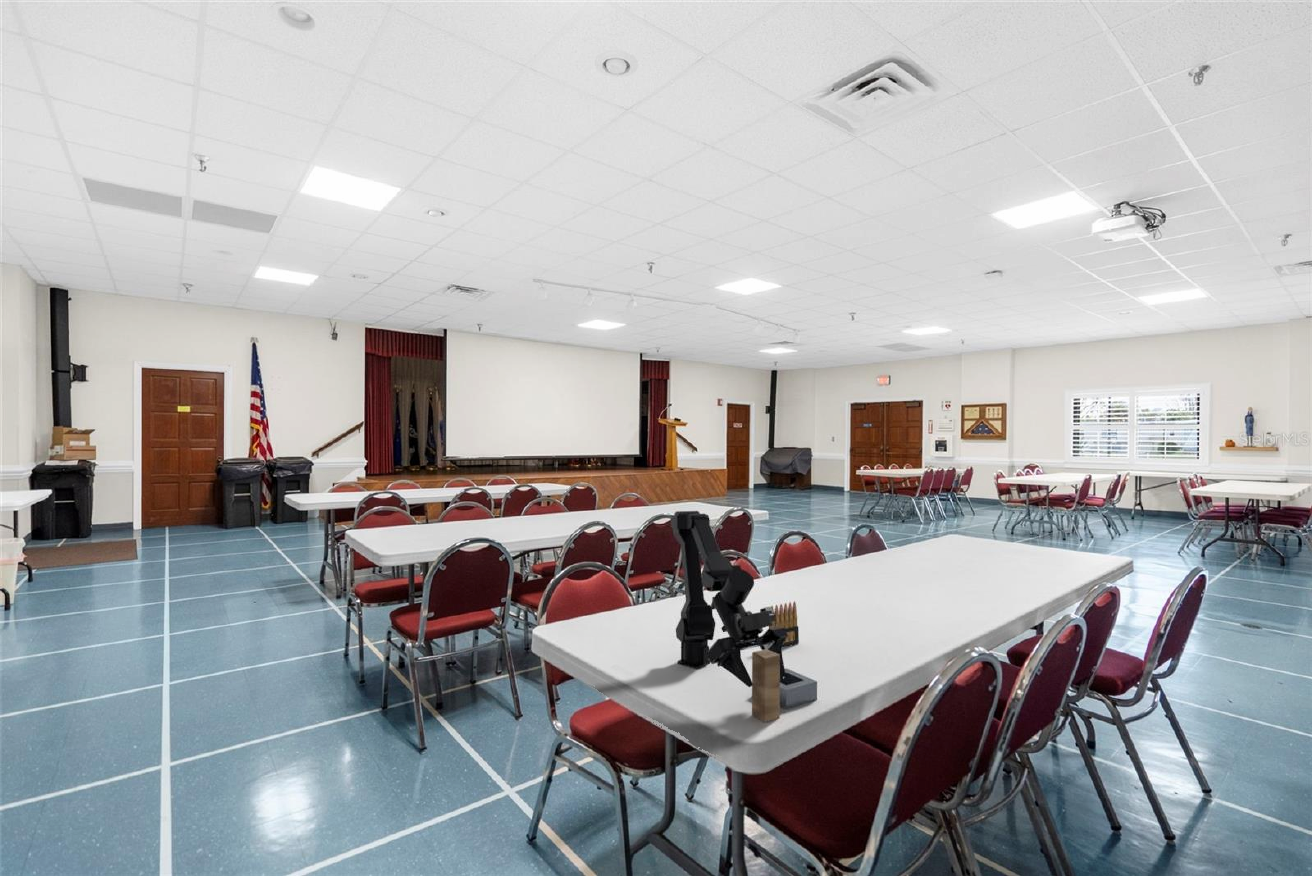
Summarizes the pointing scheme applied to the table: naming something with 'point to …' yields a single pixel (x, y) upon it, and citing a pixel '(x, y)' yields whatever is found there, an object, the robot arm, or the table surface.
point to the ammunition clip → (787, 622)
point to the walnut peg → (766, 685)
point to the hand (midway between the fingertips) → (767, 681)
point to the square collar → (796, 689)
